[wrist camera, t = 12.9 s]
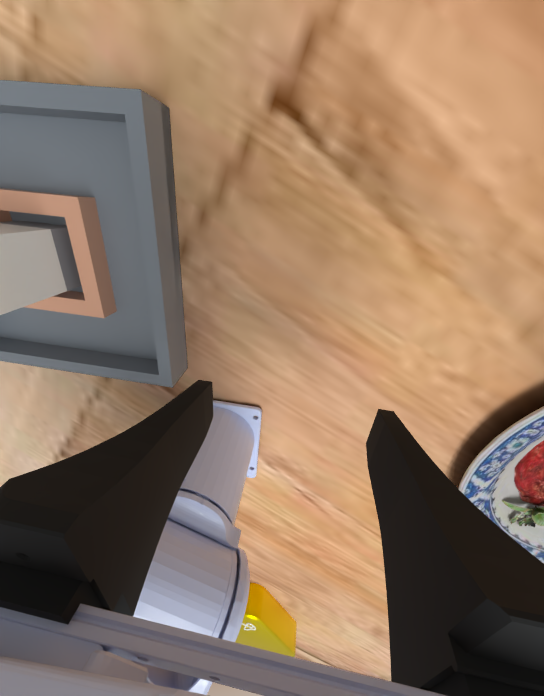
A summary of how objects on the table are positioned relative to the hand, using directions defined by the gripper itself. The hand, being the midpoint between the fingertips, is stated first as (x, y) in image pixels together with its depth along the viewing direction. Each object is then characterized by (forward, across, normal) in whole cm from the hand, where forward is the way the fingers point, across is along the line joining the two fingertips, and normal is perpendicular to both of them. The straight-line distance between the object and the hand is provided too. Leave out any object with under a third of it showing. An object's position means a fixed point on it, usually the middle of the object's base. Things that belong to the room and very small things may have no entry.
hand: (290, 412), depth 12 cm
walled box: (+10, +18, -3) cm, 21 cm away
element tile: (+9, +3, +53) cm, 54 cm away
